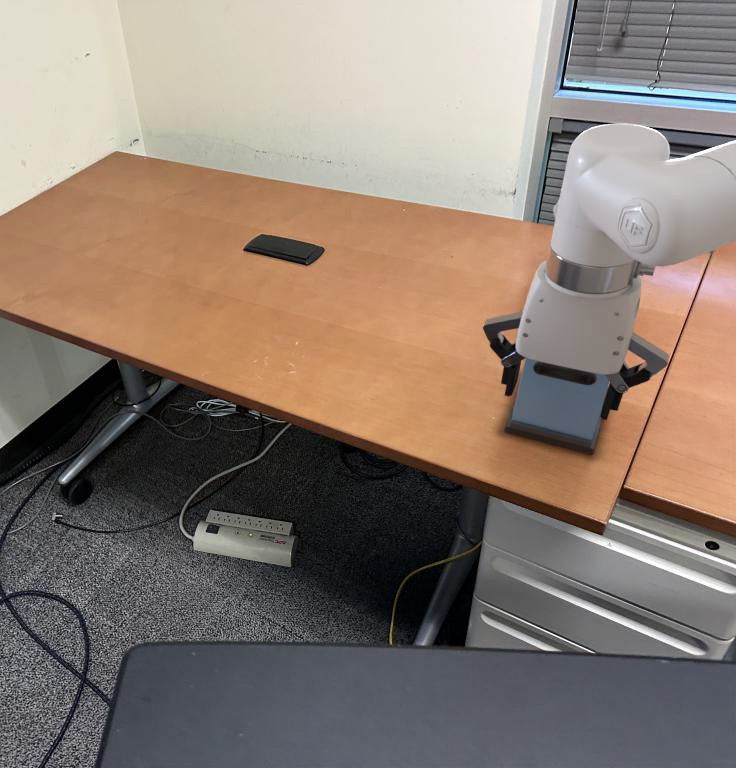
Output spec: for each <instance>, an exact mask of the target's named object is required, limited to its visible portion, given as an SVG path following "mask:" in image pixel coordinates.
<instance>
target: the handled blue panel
mask: <svg viewBox="0 0 736 768" xmlns="http://www.w3.org/2000/svg"><path fill="white" fill-rule="evenodd" d="M609 383H610V382H609V380H608V379H607V377H606V376H605V375H604V374H597V373H592V372H587V371H582V370H577V369H573V368H568V367H563V366H559V365H554V364H549V363H545V362H541V361H536V360H532V359H529V358H525V359H524V363H523V367H522V372H521V375H520V381H519V386H518V390H517V394H516V398H515V400H516V403H515V402H514V403H515V407H514V412H513V416H512V420H515V421H518V422H522V423H526V424H530V425H534V426H538V427H542V428H546V429H550V430H553V431H557V432H561V433H565V434H569V435H573V436H577V437H581V438H585V439H589V440H592V438H593V435H594V432H595V428H596V425H597V422H598V418H599V415H600V412H601V408H602V405H603V402H604V398H605V395H606V392H607V389H608V386H609Z"/></svg>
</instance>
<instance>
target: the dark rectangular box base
mask: <svg viewBox="0 0 736 768" xmlns="http://www.w3.org/2000/svg"><path fill="white" fill-rule="evenodd" d="M607 390H608V389H607ZM606 393H607V392H606ZM605 396H606V395H605ZM604 399H605V398H604ZM515 403H516V399H515V401H514V404H513V406H512V409H511V410H510V413H509V416H508V418H507V421H506V424H505V426H504V432H505V433H507V434H512V435H515V436H519V437H523V438H527V439H531V440H534V441H538V442H541V443H545V444H548V445H552V446H556V447H560V448H565V449H566V450H567V449H568V450H572V451H576V452H578V453H579V452H580V453H583V454H586V455H590V456H593V454H594V452H595V449H596V444H597V440H598V436H599V433H600V429H601V425H602V421H603V419H602V418H600V415H599V418H598V422H597V425H596V428H595V432H594V435H593V438H592V440H589V439H585V438H581V437H577V436H573V435H569V434H565V433H561V432H557V431H553V430H550V429H546V428H542V427H538V426H534V425H530V424H526V423H522V422H518V421H515V420H512V416H513V412H514V407H515ZM603 403H604V402H603ZM602 407H603V405H602ZM601 410H602V408H601ZM600 414H601V412H600Z"/></svg>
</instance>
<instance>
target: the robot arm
mask: <svg viewBox="0 0 736 768" xmlns="http://www.w3.org/2000/svg"><path fill="white" fill-rule="evenodd" d="M670 152H671V150H670V144H669V142H668V140H667V138H666V137H665V136H664V135H663V134H662V133H661V132H659V131H658V130H656V129H653V128H650V127H649V126H648V127H647V126H644V125H639V124H632V123H610V124H609V123H608V124H602V125H601V124H600V125H597V126H593V127H590V128H588V129H586V130H584V131H583V132H581V133H580V134H579V135H578V136H577V137H576V138H575V139H574V140H573V142H572V143H571V146H570V148H569V152H568V154H567V159H566V163H565V169H564V175H563V179H562V184H561V190H560V195H559V199H558V201H559V204H558V208H557V214H556V219H555V218H554V225H553V230H552V235H551V239H550V244H549V248H548V254H547V257H546V259H545V260H543V261H541V263H539V265H538V267H537V269H536V271H535V273H534V276H533V279H532V281H531V283H530V286H529V290H528V293H527V296H526V300H525V303H524V306H523V310H522V311H520V312H515V313H514V312H513V313H509V314H504V315H499V316H495V317H489V318H487V319H486V320H485V321H484V324H483V326H482V330H483V332H484V334H485V337H486V339H487V341H488V342H489V348H490V349H491V350H492V351H493V352H494V354H496V356H497V357H498V358H499V359H500V364H501V366H503V370H502V375H501V381H500V384H501V385H505V391H504V396H505V397H508V398H510V397H513V394H514V391H515V388H516V386H517V384H518V380H519V376H520V371H521V365H522V362H523V360H525V358H529V359H532V360H536V361H541V362H545V363H549V364H554V365H559V366H563V367H568V368H573V369H577V370H582V371H587V372H592V373H597V374H604V375H605V376H606V377H607V379H608V380H609V385H608V390H607V393H606V396H605V399H604V403H603V407H602V410H601V414H600V418H602V421H603V420H604V421H608V418H609V415H610V411H611V410H612V411H614V412H615V411H616V412H618V411H619V408H620V405H621V401H622V399H623V396H624V393H627V392H628V391H629V389H630V388H634V387H636V386H638V385H642V384H645V383H648V382H649V381H650V380H651V378H652V377H653V376H656V375H657V374H658V373H659V372H662V370H663V369H665V368H667V366H668V364H669V359H670V355H669V353H668V352H666V351H665V350H662V349H661V348H659V347H658V346H657V345H655V344H653V343H651V342H650V341H649V340H647V339H645V338H643V337H642V336H640V335H639V334H637V333H636V332H634V329H635V325H636V321H637V318H638V313H639V307H640V303H641V295H642V278H641V277H643V276H651V277H653V275H654V274H655V271H656V270H655V269H656V267H669V266H675V265H678V264H682V263H684V262H686V261H689V260H692V259H694V258H697V257H700V256H702V255H705V254H707V253H710V252H712V251H715V250H718V249H720V248H721V247H724V246H727V245H729V244H732V243H734V242H736V140H733V141H729V142H727V143H724V144H720V145H716V146H714V147H711V148H708V149H705V150H702V151H699V152H696V153H693V154H690V155H687V156H683V157H680V158H673V159H670V155H671V153H670ZM512 330H517V334H516V338H515V339H516V340H515V341H513V342H510V340H508V338H507V337H506V336H505V334H503V333H502V332H506V331H512ZM628 351H629V352H631V353H632V354H634V355H635V356H637V357H639V358H640V359H642V360H643V361H644V362H642V363H639V364H636V365H634V366H631V367H630V366H629V365H628V364H627V362H626V361H625V360H626V357H627V354H628Z"/></svg>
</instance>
